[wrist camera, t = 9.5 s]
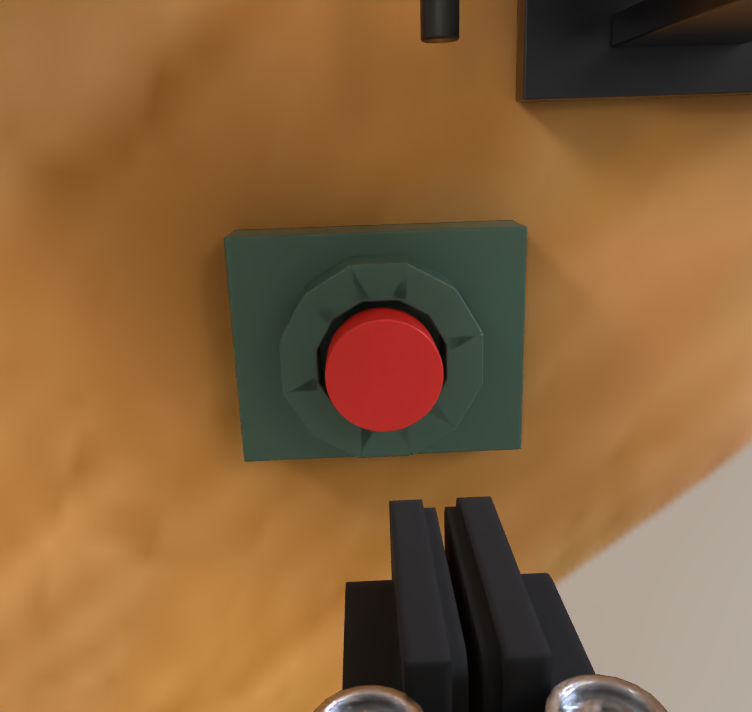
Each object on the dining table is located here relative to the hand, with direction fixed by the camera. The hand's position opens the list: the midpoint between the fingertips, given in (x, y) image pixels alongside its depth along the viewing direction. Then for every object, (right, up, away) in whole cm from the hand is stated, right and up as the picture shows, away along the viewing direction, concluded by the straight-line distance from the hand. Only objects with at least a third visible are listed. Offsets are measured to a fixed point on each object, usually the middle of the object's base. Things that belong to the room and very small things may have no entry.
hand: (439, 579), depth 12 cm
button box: (-1, +5, +15) cm, 16 cm away
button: (-1, +4, +12) cm, 12 cm away
